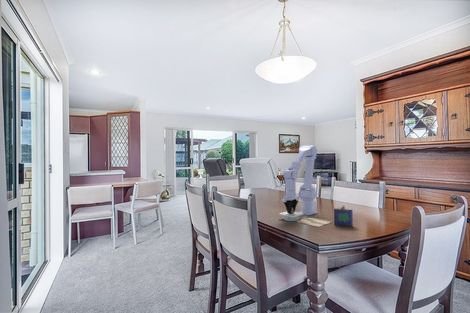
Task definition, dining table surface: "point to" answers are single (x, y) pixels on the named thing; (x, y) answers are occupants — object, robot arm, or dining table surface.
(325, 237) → the dining table surface
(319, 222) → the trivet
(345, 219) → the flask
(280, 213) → the cover
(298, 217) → the bowl
